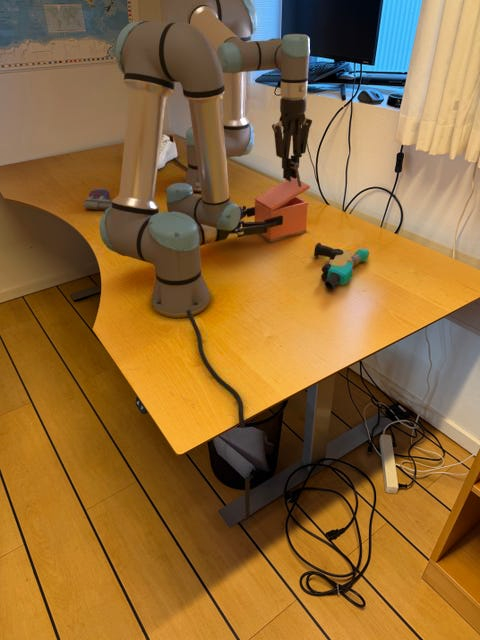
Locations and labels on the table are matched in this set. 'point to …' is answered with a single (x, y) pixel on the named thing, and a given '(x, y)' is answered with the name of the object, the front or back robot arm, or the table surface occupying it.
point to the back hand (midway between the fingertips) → (289, 177)
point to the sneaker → (167, 150)
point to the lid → (283, 191)
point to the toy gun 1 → (98, 200)
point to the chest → (284, 219)
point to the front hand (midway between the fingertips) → (273, 214)
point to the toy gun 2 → (339, 264)
